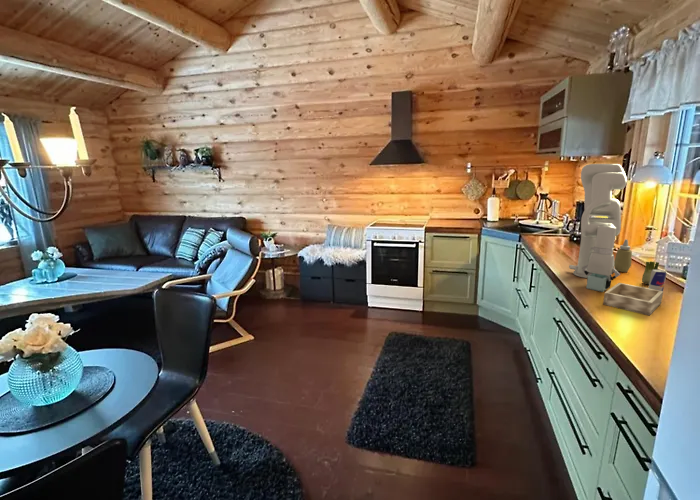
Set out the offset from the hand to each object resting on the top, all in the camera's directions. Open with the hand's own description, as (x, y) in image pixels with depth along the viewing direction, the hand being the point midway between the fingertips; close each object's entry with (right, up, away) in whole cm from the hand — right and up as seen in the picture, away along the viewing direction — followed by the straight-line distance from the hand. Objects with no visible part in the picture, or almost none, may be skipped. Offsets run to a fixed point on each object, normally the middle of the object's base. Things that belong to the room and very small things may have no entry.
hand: (598, 286), depth 186 cm
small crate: (0, -1, 0) cm, 1 cm away
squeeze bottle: (+32, +6, +29) cm, 43 cm away
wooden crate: (+1, -6, -20) cm, 21 cm away
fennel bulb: (+29, 0, +5) cm, 29 cm away
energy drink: (+19, -4, -11) cm, 22 cm away
